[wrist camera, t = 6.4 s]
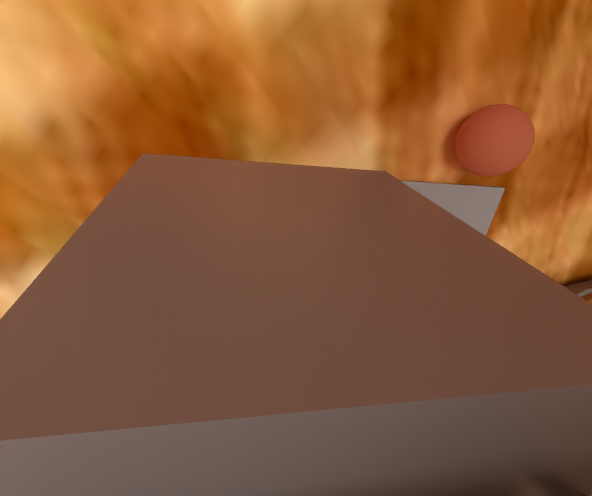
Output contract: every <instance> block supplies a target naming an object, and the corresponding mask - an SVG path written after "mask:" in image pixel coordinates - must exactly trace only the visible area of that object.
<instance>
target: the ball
mask: <svg viewBox="0 0 592 496" xmlns="http://www.w3.org/2000/svg"><path fill="white" fill-rule="evenodd" d="M533 143H534V127H533V124H532V122H531V120H530V118H529V117H528V116H527V114H526V113H524V112H523V111H522V110H520V109H519V108H516V107H514V106H511V105H506V104H496V105H490V106H487V107H484V108H482V109H480V110H478V111H476V112H474V113H473V114H472V115H470V116H469V117H468V118H467V119H466V120H465V121H464V123H463V124H462V125H461V127H460V129H459V131H458V133H457V136H456V141H455V150H456V154H457V157H458V159H459V161H460V163H461V164H462V165H463V166H464V167H465V168H466V169H467V170H469V171H471V172H472V173H475V174H478V175H482V176H496V175H500V174H504V173H506V172H509V171H511V170H513V169H514V168H516V167H517V166H518V165H520V164H521V163H522V162H523V161H524V160H525V159H526V157H527V156H528V154H529V153H530V151H531V149H532V146H533Z"/></svg>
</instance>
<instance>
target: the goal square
mask: <svg viewBox="0 0 592 496" xmlns="http://www.w3.org/2000/svg"><path fill="white" fill-rule="evenodd" d="M401 182H403V183H404V184H406V185H407V186H409V187H411V188H412V189H414V190H415V191H417V192H418V193H420V194H421V195H423V196H425V197H426V198H428V199H429V200H431V201H432V202H434V203H435V204H437V205H438V206H440V207H442V208H443V209H445V210H446V211H448V212H449V213H451V214H452V215H454V216H455V217H457V218H459V219H460V220H462V221H463V222H465V223H466V224H468V225H469V226H471V227H473V228H474V229H476V230H477V231H479V232H480V233H482V234H483V235H485V236H486V234H487V231H488V229H489V226H490V224H491V222H492V219H493V217H494V214H495V212H496V209H497V207H498V204H499V202H500V200H501V197H502V195H503V192H504V190H505V188H504V187H490V186H475V185H461V184H446V183H432V182H417V181H403V180H401Z"/></svg>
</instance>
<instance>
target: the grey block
mask: <svg viewBox="0 0 592 496" xmlns="http://www.w3.org/2000/svg"><path fill="white" fill-rule="evenodd" d="M586 493H592V304H590V303H589V302H587V301H586V300H584V299H582V298H581V297H579V296H578V295H576V294H575V293H573V292H572V291H570V290H569V289H567V288H565V287H564V286H562V285H561V284H559V283H558V282H556V281H555V280H553V279H552V278H550V277H548V276H547V275H545V274H544V273H542V272H541V271H539V270H538V269H536V268H534V267H533V266H531V265H530V264H528V263H527V262H525V261H524V260H522V259H521V258H519V257H517V256H516V255H514V254H513V253H511V252H510V251H508V250H507V249H505V248H504V247H502V246H500V245H499V244H497V243H496V242H494V241H493V240H491V239H490V238H488V237H486V236H485V235H483V234H482V233H480V232H479V231H477V230H476V229H474V228H473V227H471V226H469V225H468V224H466V223H465V222H463V221H462V220H460V219H459V218H457V217H455V216H454V215H452V214H451V213H449V212H448V211H446V210H445V209H443V208H442V207H440V206H438V205H437V204H435V203H434V202H432V201H431V200H429V199H428V198H426V197H425V196H423V195H421V194H420V193H418V192H417V191H415V190H414V189H412V188H411V187H409V186H407V185H406V184H404V183H403V182H401V181H400V180H398V179H397V178H395V177H394V176H392V175H390V174H389V173H387V172H384V171H371V170H358V169H345V168H331V167H318V166H305V165H292V164H278V163H265V162H252V161H239V160H225V159H212V158H199V157H186V156H172V155H159V154H146V153H143V154H142V155H141V156H140V157H139V159H138V160H137V161H136V162H135V163H134V164H133V166H132V167H131V168H130V169H129V170H128V171H127V173H126V174H125V175H124V176H123V177H122V178H121V180H120V181H119V182H118V183H117V184H116V185H115V187H114V188H113V189H112V190H111V191H110V192H109V194H108V195H107V196H106V197H105V198H104V199H103V201H102V202H101V203H100V204H99V205H98V206H97V208H96V209H95V210H94V211H93V212H92V213H91V215H90V216H89V217H88V218H87V219H86V220H85V222H84V223H83V224H82V225H81V226H80V227H79V229H78V230H77V231H76V232H75V233H74V234H73V236H72V237H71V238H70V239H69V240H68V241H67V243H66V244H65V245H64V246H63V247H62V248H61V250H60V251H59V252H58V253H57V254H56V255H55V257H54V258H53V259H52V260H51V261H50V262H49V264H48V265H47V266H46V267H45V268H44V269H43V271H42V272H41V273H40V274H39V275H38V276H37V278H36V279H35V280H34V281H33V282H32V283H31V285H30V286H29V287H28V288H27V289H26V290H25V292H24V293H23V294H22V295H21V296H20V297H19V298H18V300H17V301H16V302H15V303H14V304H13V305H12V307H11V308H10V309H9V310H8V311H7V312H6V314H5V315H4V316H3V317H2V318H1V319H0V496H583V495H584V494H586Z"/></svg>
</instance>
